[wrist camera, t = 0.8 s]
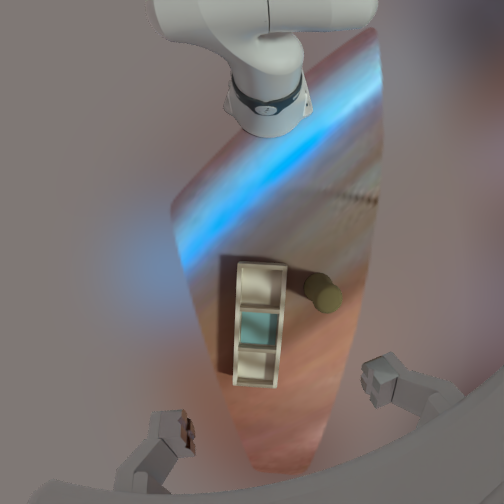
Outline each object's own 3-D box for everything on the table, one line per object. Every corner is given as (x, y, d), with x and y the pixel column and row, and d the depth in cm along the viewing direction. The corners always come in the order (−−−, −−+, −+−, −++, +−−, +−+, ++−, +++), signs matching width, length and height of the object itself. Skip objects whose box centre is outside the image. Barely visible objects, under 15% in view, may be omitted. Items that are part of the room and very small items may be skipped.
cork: (303, 302, 55) (310, 318, 44) (304, 272, 54) (312, 282, 44) (332, 301, 55) (345, 317, 44) (333, 272, 54) (348, 282, 43)
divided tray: (239, 261, 55) (237, 263, 51) (286, 263, 55) (287, 266, 51) (235, 376, 57) (232, 385, 53) (276, 379, 56) (276, 388, 52)
